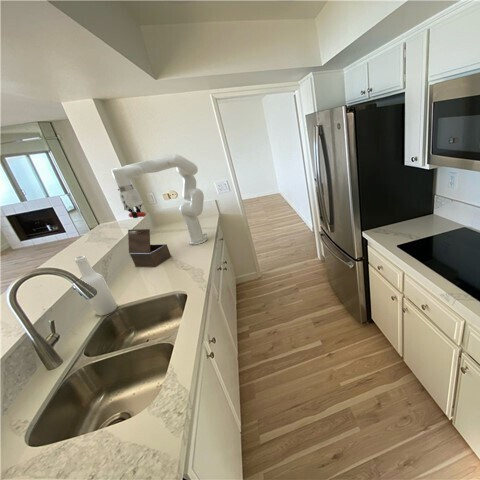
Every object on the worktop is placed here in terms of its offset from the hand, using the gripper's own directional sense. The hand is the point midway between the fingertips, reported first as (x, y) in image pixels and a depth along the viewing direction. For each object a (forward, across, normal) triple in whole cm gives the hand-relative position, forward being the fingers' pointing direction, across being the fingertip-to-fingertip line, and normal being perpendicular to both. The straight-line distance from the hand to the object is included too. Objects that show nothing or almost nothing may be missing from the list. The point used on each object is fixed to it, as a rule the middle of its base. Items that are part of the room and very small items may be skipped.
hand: (138, 216), depth 168 cm
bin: (+33, +1, +3) cm, 33 cm away
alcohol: (+33, -51, -16) cm, 62 cm away
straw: (0, 0, 0) cm, 0 cm away
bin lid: (+16, -3, +3) cm, 16 cm away
